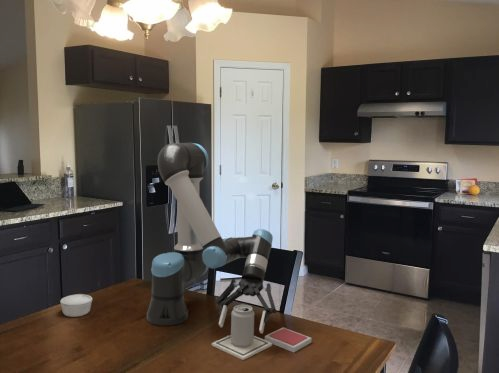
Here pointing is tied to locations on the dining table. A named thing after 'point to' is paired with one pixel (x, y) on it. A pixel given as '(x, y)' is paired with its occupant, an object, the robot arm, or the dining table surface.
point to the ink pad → (288, 339)
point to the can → (242, 325)
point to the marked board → (241, 352)
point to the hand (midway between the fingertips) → (240, 328)
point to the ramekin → (76, 305)
